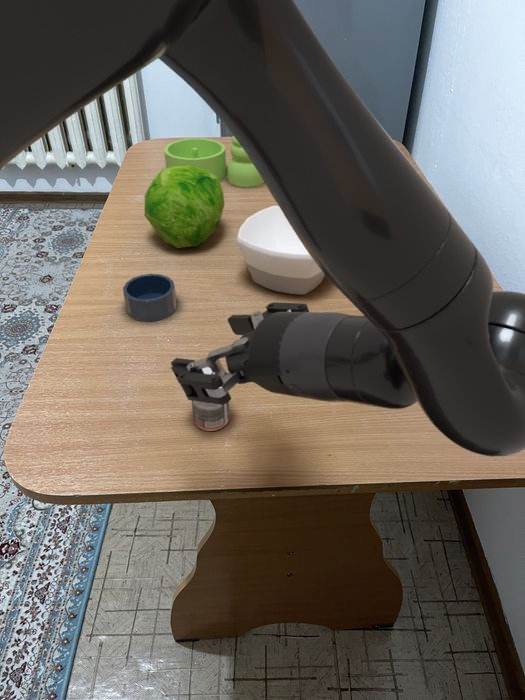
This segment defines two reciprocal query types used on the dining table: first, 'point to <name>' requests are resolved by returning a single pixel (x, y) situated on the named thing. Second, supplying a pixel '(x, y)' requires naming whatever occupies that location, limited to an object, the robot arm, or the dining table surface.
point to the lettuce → (184, 205)
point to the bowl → (277, 254)
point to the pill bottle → (210, 412)
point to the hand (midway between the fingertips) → (205, 345)
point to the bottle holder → (150, 297)
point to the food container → (214, 160)
